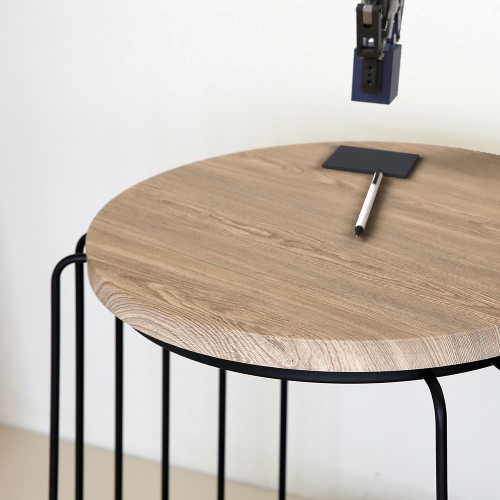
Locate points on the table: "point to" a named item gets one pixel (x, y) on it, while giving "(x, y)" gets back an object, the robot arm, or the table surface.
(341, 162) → the mat
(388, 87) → the block
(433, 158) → the table surface
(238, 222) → the table surface
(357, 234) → the pen
